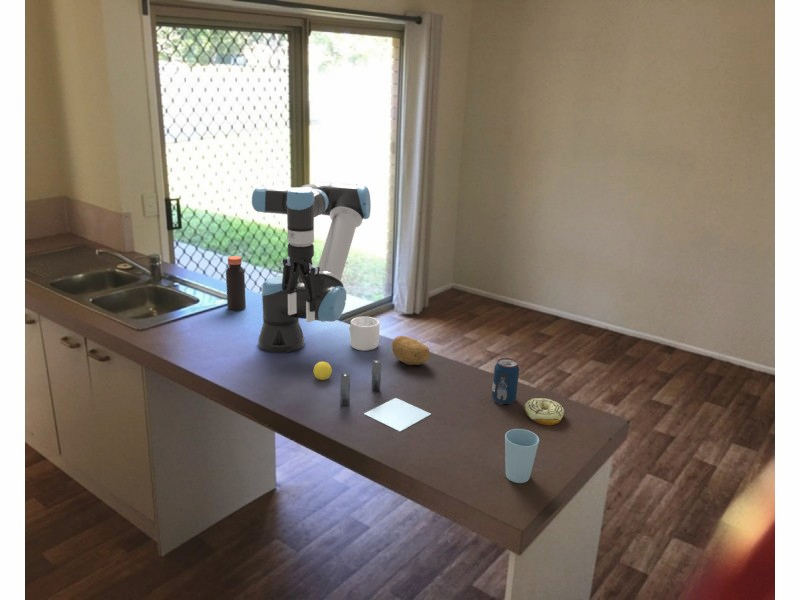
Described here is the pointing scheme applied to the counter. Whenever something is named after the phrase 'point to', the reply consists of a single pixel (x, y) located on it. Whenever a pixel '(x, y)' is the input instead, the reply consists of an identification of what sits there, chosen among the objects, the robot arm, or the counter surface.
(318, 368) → the ball
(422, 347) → the potato
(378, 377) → the post
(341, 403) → the post
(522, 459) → the cup
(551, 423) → the decorated donut
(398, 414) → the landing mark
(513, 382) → the soda can
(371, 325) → the mug
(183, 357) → the counter surface
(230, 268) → the bottle
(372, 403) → the counter surface
